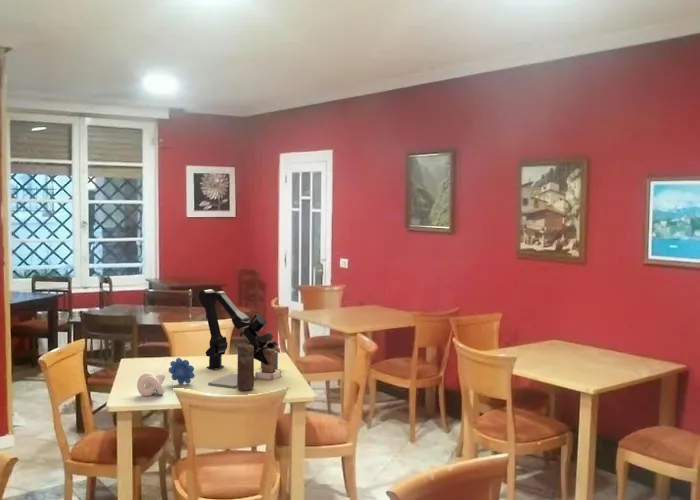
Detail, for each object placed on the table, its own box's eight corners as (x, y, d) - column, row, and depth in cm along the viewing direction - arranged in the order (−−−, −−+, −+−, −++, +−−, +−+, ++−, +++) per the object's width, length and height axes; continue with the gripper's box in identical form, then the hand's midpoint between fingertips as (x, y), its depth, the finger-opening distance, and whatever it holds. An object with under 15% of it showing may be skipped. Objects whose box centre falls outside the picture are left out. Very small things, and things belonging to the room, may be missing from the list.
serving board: (232, 375, 333) (232, 373, 333) (257, 378, 328) (257, 376, 328) (208, 384, 315) (208, 382, 315) (234, 388, 310) (234, 386, 310)
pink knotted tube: (149, 389, 306) (149, 369, 305) (173, 392, 302) (173, 371, 302) (133, 396, 295) (133, 375, 294) (158, 398, 291) (158, 377, 291)
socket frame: (264, 373, 337) (264, 368, 337) (281, 375, 334) (281, 370, 333) (255, 377, 329) (255, 372, 329) (272, 379, 326) (272, 374, 326)
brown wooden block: (265, 375, 334) (265, 348, 333) (275, 376, 332) (275, 349, 332) (261, 377, 331) (261, 350, 330) (270, 378, 329) (271, 351, 328)
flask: (278, 368, 348) (278, 347, 347) (275, 370, 345) (276, 348, 345) (262, 367, 351) (262, 346, 351) (259, 368, 349) (259, 347, 348)
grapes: (166, 386, 311) (166, 360, 310) (169, 382, 317) (169, 356, 317) (193, 386, 312) (193, 360, 311) (195, 382, 318) (195, 356, 318)
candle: (237, 386, 312) (238, 342, 311) (254, 386, 313) (254, 342, 312) (236, 391, 305) (236, 346, 303) (253, 391, 305) (253, 346, 304)
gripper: (249, 330, 324) (267, 356, 319) (274, 324, 340) (292, 349, 335) (236, 344, 329) (254, 371, 324) (262, 338, 345) (279, 363, 340)
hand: (270, 363), depth 330 cm, fingers closed on brown wooden block, 4 cm apart
